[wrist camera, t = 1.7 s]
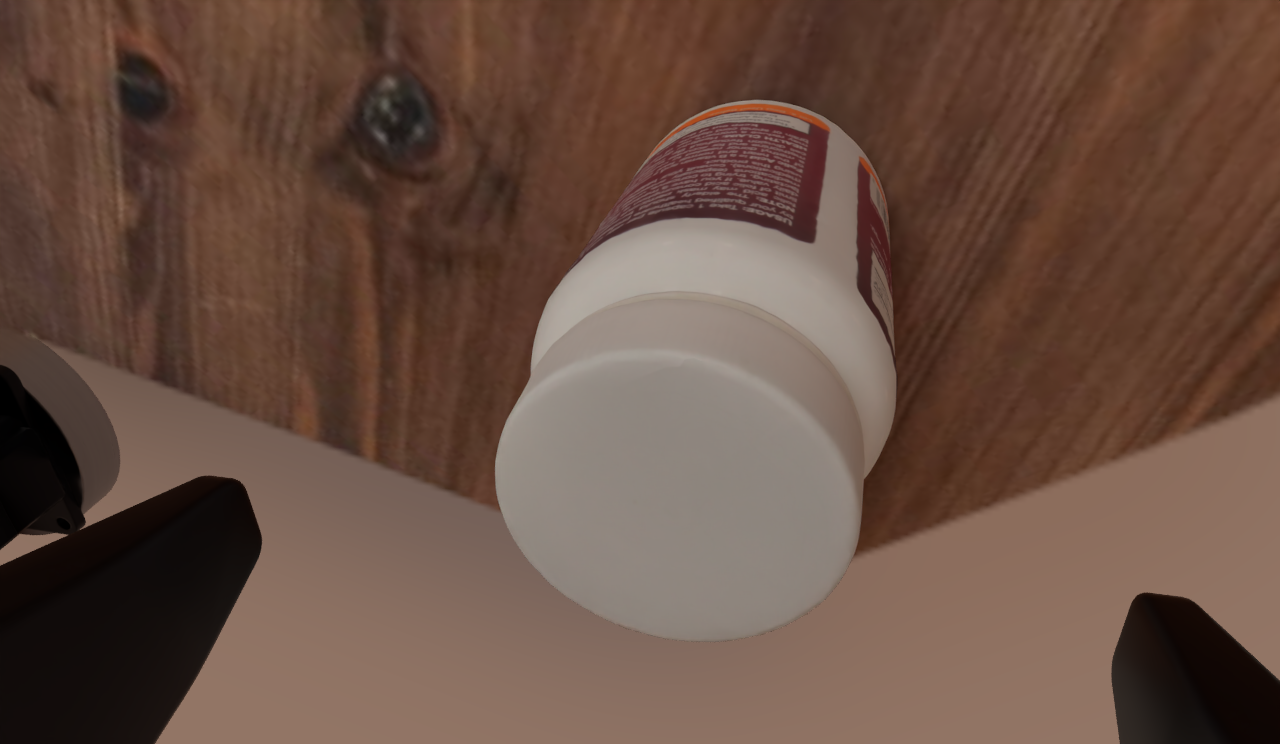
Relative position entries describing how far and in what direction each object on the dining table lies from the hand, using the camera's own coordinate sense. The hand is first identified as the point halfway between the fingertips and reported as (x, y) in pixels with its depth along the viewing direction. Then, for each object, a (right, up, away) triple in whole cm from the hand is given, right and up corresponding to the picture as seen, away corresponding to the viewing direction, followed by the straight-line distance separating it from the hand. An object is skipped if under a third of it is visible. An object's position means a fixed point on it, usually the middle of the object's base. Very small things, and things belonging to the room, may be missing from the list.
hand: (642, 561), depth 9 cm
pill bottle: (+2, +5, +8) cm, 9 cm away
